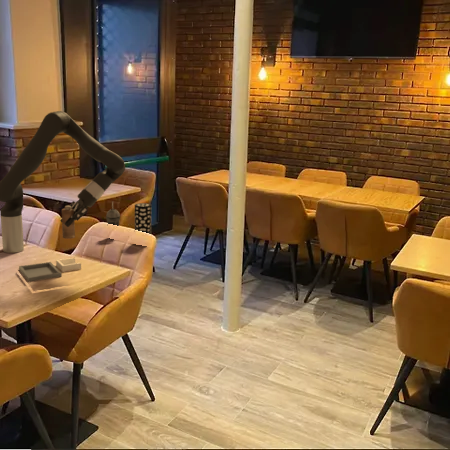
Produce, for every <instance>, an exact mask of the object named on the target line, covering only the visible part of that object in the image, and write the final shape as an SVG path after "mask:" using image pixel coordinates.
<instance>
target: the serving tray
mask: <svg viewBox="0 0 450 450" xmlns="http://www.w3.org/2000/svg"><path fill="white" fill-rule="evenodd" d="M18 270H19V272H20V274H22V276H23V279H24V280H26V281H27V282H28V283H29V282H36V281H41V280H48V279H54V278H61V277H62V276H63V274H62V271H61V270H60V269H59V268H58V267H57V266H55V265H54V264H53V263H52V262H51V261H47V262H40V263H33V264H32V263H31V264H26V265H25V264H24V265H20V266H18Z"/></svg>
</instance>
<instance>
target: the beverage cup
mask: <svg viewBox="0 0 450 450" xmlns="http://www.w3.org/2000/svg"><path fill="white" fill-rule="evenodd" d="M111 207H112V208H110V209H109V210H108V211H107V212H106V215H105V216H106V217H105V218H106V223H108V224H113V225H117V226H119V227H120V220H121V215H120V212H119V211H118V209H115V208H114V200H113V201H112V200H111ZM108 224H107V225H108Z"/></svg>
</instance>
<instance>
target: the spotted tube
mask: <svg viewBox="0 0 450 450" xmlns="http://www.w3.org/2000/svg"><path fill="white" fill-rule="evenodd" d="M135 230H138V231H142V232H146V233H149V234H151V235H152V204H151V203H144V202H142V203H140V202H139V203H135V204H134V231H135Z"/></svg>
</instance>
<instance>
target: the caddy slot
mask: <svg viewBox="0 0 450 450" xmlns="http://www.w3.org/2000/svg"><path fill="white" fill-rule="evenodd" d="M55 265H56V266H55V267H56V268H57V269H58V270H59V271H60V272H61V273H62V272H70V271H77V270H81V269H82V262H76V258H75V257H68V258H60V259H55Z"/></svg>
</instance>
